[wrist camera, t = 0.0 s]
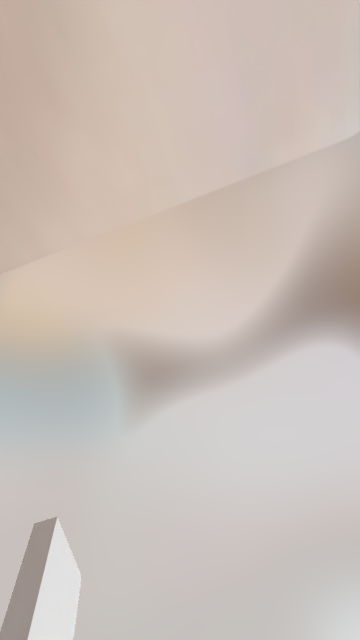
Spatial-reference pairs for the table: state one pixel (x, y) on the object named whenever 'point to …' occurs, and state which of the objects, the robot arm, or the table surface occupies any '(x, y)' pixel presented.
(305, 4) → the table surface
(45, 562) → the robot arm
